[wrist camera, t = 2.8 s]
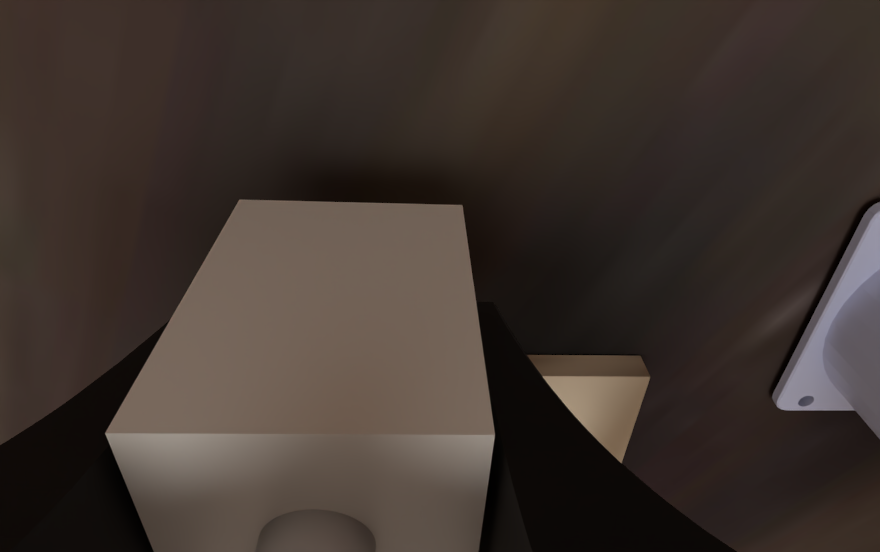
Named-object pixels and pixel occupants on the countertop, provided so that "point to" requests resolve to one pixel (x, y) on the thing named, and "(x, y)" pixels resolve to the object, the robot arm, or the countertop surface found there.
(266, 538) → the block
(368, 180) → the countertop surface
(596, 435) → the press bed
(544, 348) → the countertop surface
